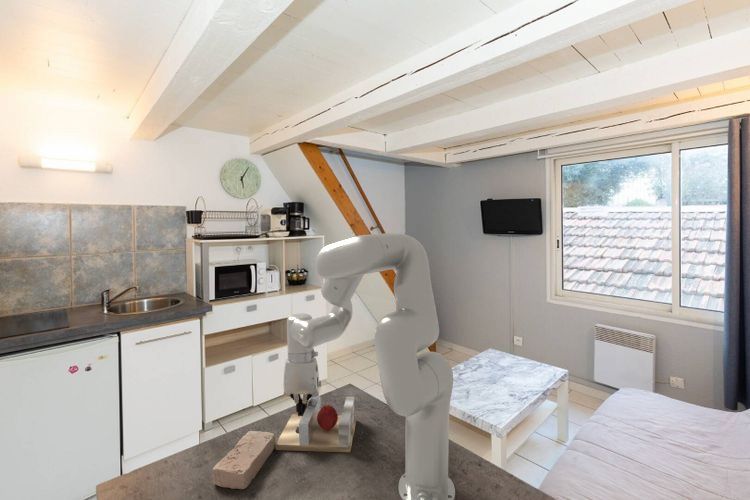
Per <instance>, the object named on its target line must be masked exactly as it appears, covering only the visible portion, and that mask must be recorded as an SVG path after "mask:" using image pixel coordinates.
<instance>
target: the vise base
mask: <svg viewBox="0 0 750 500" xmlns="http://www.w3.org/2000/svg"><path fill="white" fill-rule="evenodd" d="M355 400H356V399H355V396H346V397H345V400H344V405H343V408H342V411H341V414H340V415H338V414H337V415H338V420H337V423H336V425H335V426H334V427H333V428H332V429H330V430H324V429H323V428H321V427H320V425H319V424H318V423H317V425H316V428H315V430H314V433H313V436H312V438H311V441H310V443H309V445H299V434H297V433H296V429H297V427H298V424H299V422H300V420H301V418H302V416H298V413H297V414H296V413H292V414H291V415H290V418H289V419H288V421H287V423H286V425H285V426H284V428H283V431H281V434H280V435H279V437H278V439H277V441H276V442H275V443H276V446H275V451H293V452H294V451H295V452H296V451H297V452H298V451H299V452H329V453H351V450H352V444H353V440H354V435H355V430H356V425H357V415H356V407H355V406H356V405H355V403H356V401H355Z"/></svg>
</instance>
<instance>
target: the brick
mask: <svg viewBox="0 0 750 500" xmlns="http://www.w3.org/2000/svg"><path fill="white" fill-rule="evenodd" d="M276 443H277V442H276V437H275V434H274V433H272V432H269V431H260V430H259V431H258V430H249V431H248V432H246V433H245V434H244V435H243V436H242V437H241V438H240V439H239V441H238V442H237V444H236V445H235V446H234V448H232V450H230V451H229V452H228V453H227V454H226V455H225V456H224V457H222V459H220V460H219V461H218V462H217V463H216V464H215V465H214V466H213V467H212V475H211V476H212V482H213V484H214V485H215V486H217V487H221V488H230V489H233V490H234V489H238V490H245V489H246V488H248V486H249V485H251V483H252V481H253V479H255V478H256V476H257V474H258V473H259V471H260V470H261V469H262V467H263V466H264V465H265V462H266V461H267V459H268V458H269V457H270V456H271V455H272V453H273V451H274V450H275V449H276Z"/></svg>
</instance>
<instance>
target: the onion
mask: <svg viewBox="0 0 750 500" xmlns="http://www.w3.org/2000/svg"><path fill="white" fill-rule="evenodd" d="M337 420H338V412H337V410H336V408H334V406H332V405H330V404H329V403H328V402H325V404H324V406H322V407H321V409H320V411H319V413H318V415H317V422H318V424H319V425H320V427H321V428H323V429H324V430H330V429H332V428H333V427H334V426H335V425H336V423H337Z"/></svg>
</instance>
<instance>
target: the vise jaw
mask: <svg viewBox="0 0 750 500" xmlns="http://www.w3.org/2000/svg"><path fill="white" fill-rule="evenodd" d="M321 402H322V401H321V396H320V395H318V396H316V397H311V398H310V399H309V402H308V403H307V408H306V410H305V412H304V414H303V416H302V418H301V420H300V422H299V424H298V427H297V429H296V433H297V434H299V445H309V443H310V441H311V438H312V436H313V433H314V430H315V428H316V425H317V423H318V422H317V415H318V413H319V411H320V409H321V408H322V407H321V405H322V404H321Z"/></svg>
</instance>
